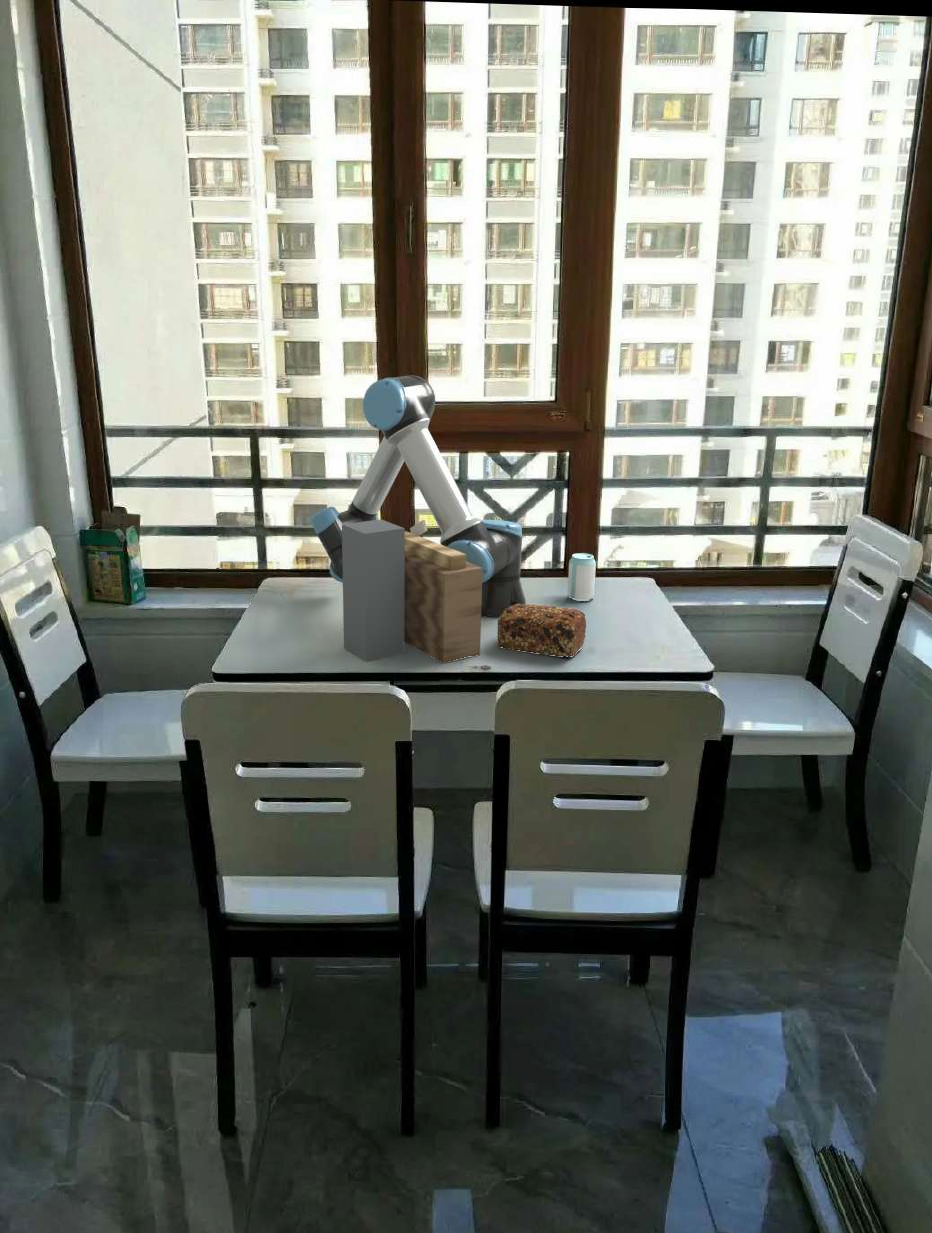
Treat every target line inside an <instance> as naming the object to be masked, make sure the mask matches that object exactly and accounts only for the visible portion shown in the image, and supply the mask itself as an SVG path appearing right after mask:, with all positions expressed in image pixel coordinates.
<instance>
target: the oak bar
mask: <svg viewBox="0 0 932 1233" xmlns="http://www.w3.org/2000/svg"><path fill="white" fill-rule="evenodd" d="M407 531H408V530H405V552H409V553H411V554H413V555H416V556H418V557H421V558H423V559H426V560H428V561H430V562H433V563H435V564H438V565H440V566H442V567H445V568H447V569H450V570H455V569H461V568H466V554H464V553H461V552H459V551H456V550H454V549H451V548H448V547H446V546H443V545H441V544H440V543H438V542H435V541H432V540H430V539H427V538H424V537H423V538H422V537H420V536H417V535H415V534H412V533H410V532H407Z"/></svg>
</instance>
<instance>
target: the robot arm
mask: <svg viewBox="0 0 932 1233" xmlns="http://www.w3.org/2000/svg"><path fill="white" fill-rule="evenodd" d="M435 394H436V393H435V391H434V389H433V388H432V386H431V384H430V383H429V382H428V381H427V380H426V379H424V378H423V377H421V376H418V375H413V374H411V375H410V374H409V375H404V376H396V377H385V378H383V379H379V380H376V381H375V382H373V383H372V384H370V385H369V387H368V388H367V389H366V391H365V393H364V397H363V400H362V410H363V414H364V418H365V420H366V422H368V424H369V425H370V426H371V427H373V428H375V429H376V430H379V431H381V432H382V434H383V437H382V440H381V442H380V444H379V446H378V447H377V450H376V452H375V454H374V456H373V458H372V461H371V462H370V464H369V466H368V469H367V471H366V473H365V474H364V476H363V479H362V480H361V483H360V485H359V487H358V489H357V491H356V492H355V495H354V496H353V499H352V501H351V503H350V504H349V507H348V508H347V510H344V511H342V512H340V511H338V510H337V509H336V507H335V506H328V507H326V508H324V509H322V510H320V511H318V512H316V513H315V514H314V515H312V516H311V518H310V523H311V525H312V528H313V530H314V532H315V534H316V535H317V537H318V539H319V541H320V543H321V545H322V546H323V548H324V550H325V552H326V553H327V555H328V558H329V560H330V563H329V566H328V567H329V568H328V570H329V574H330V576H331V577H332V578H333V579H334V580H335V581H337V582H339V583H342V584H343V563H342V524H349V523H357V522H365V521H373V520H379V514H378V512H379V511H380V509H381V507H382V505H383V503H384V501H385V500H386V497H387V495H388V494H389V492H390V490H391V488H392V486H393V484H394V483H395V480H396V478H397V476H398V474H399V473H400V470H401V468H402V466H403V464H404V463H405V464H406V466H407V468H408V470H409V472H410V474H411V476H412V478H413V480H414V482H415V484H416V486H417V488H418V490H419V491H420V494H421V495H422V498H423V499H424V501H425V503H426V504H427V507H428V508H429V510H430V512H431V515H432V516H433V518H434V521H435V522H436V524H437V526H438V528H439V530H440V532H441V536H440V539H439V544H441V545H443V546H446V547H448V548H451V549H454V550H456V551H459V552H461V553H464V554H466V562H469V563H471V564H474V565H476V566H479V567H481V568H483V570H482V603H481V616H487V617H496V618H497V617H498V618H500V616H501V615H502V613H503V611H504V610H505V609H508V608H509V607H511V606H513V605H514V604H527V600H526V596H525V592H524V590H523V586H522V582H521V566H522V547H523V546H522V545H523V544H522V543H523V538H524V537H523V532H522V531H523V529H522V526H521V524H519V523H517V522H514V521H508V520H501V519H500V520H498V519H480V518H477V517H474V515H473V513H472V512H471V510H470V507H469V506H468V504H467V502H466V500H465V498H464V497H463V495H462V493H461V490H460V489H459V487H458V485H457V483H456V480H455V479H454V477H453V474H452V473H451V471H450V469H449V467H448V465H447V463H446V462H445V459H444V457H443V456H442V453H441V451H440V450H439V448H438V445H437V444H436V442H435V440H434V438H433V436H432V434H431V432H430V430H429V424H430V422H431V419H432V416H433V414H434V411H435V407H436V396H435ZM427 527H428V526H427V524H426V520H425V519H422V520H420V521H419V522H417V523H415V524H414V525H411V527H410V528H409V530H406V531H407V532H410V533H412V534H415V535H417V536H420V537H422V538H424V535H423V534H425V533H426V532H428V528H427Z"/></svg>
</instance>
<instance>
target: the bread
mask: <svg viewBox="0 0 932 1233" xmlns="http://www.w3.org/2000/svg"><path fill="white" fill-rule="evenodd" d="M497 620H498V621H497V637H496V638H497V644H498V648H499V647H503V648H506V649H507V648H508V650H510V649H514V650H520V651H526V652H525V653H527V652H533V653H539V654H538V655H540V654H547V655H555V656H568V657H570V656H573V655H575V654H576V652H577V651H578V650H579V649H580V648H581V647H582V646H583V647H584V642H585V639H586V632H587V631H586V630H587V620H586V614H585V613H584V612H583V611H581V610H578V609H577V608H568V607H557V606H554V605H553V606H552V605H551V606H550V605H537V604H527V603H526V604H514V605H513V606H511V607H509V608H508V609H505V610H504V611H503V613H502V615H501V616H500V617H499V618H498V619H497ZM583 647H582V648H583ZM509 648H510V649H509ZM514 650H513V651H514ZM520 651H519V652H520ZM533 653H532V654H533ZM547 655H546V656H547ZM576 655H577V654H576ZM576 655H575V656H576Z"/></svg>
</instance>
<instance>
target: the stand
mask: <svg viewBox="0 0 932 1233" xmlns="http://www.w3.org/2000/svg"><path fill="white" fill-rule="evenodd" d="M405 531H406V529H405V528H404V527H402V526H399V525H397V524H394V523H391V522H389V521H387V520H384V519H378V520H373V521H365V522H357V523H349V524H342V563H343V583H342V607H343V608H342V609H343V611H342V613H343V616H342V617H343V619H342V622H343V649H345V650H346V651H348V652H350V653H351V654H353V655H354V656H356V657H357V658H359V659H361V660H362V661H364V662H369V661H373V660H379V659H385V658H388V657H393V656H398V655H404V654H405V642H404V560H405V552H406V551H405Z"/></svg>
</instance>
